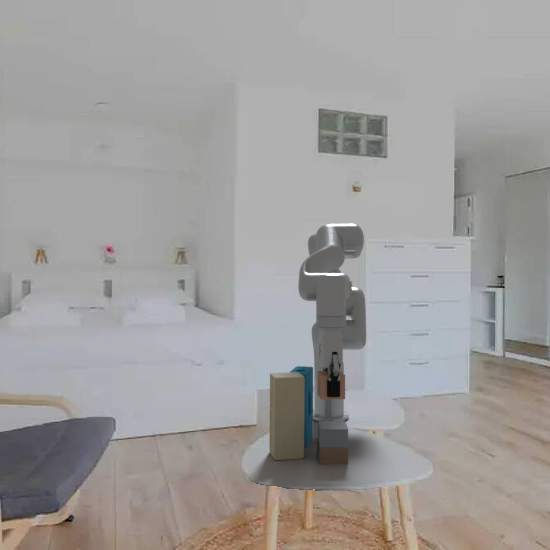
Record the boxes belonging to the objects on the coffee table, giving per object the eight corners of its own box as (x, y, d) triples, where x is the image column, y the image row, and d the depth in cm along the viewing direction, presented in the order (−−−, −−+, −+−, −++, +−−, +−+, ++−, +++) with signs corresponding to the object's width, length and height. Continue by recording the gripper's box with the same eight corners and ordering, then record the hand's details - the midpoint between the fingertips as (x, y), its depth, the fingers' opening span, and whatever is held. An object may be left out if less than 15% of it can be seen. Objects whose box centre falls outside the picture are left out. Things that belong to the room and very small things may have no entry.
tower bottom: (316, 455, 140) (316, 438, 140) (343, 454, 140) (343, 437, 140) (320, 465, 133) (320, 447, 133) (348, 464, 133) (348, 446, 133)
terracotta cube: (317, 394, 139) (317, 370, 139) (340, 393, 140) (340, 370, 139) (321, 399, 133) (321, 375, 133) (345, 399, 134) (345, 375, 133)
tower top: (318, 438, 140) (318, 420, 140) (344, 438, 140) (344, 420, 140) (319, 447, 133) (319, 429, 133) (347, 447, 133) (347, 429, 133)
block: (305, 449, 144) (305, 375, 144) (287, 448, 145) (287, 374, 145) (313, 435, 156) (313, 366, 155) (296, 434, 157) (296, 366, 156)
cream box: (297, 448, 145) (297, 371, 144) (305, 458, 137) (305, 376, 137) (268, 451, 143) (268, 372, 142) (274, 461, 136) (274, 378, 135)
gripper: (311, 319, 144) (311, 386, 145) (321, 326, 127) (321, 402, 127) (339, 319, 145) (339, 386, 145) (353, 326, 128) (353, 401, 128)
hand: (331, 393), depth 136 cm, fingers closed on terracotta cube, 6 cm apart
